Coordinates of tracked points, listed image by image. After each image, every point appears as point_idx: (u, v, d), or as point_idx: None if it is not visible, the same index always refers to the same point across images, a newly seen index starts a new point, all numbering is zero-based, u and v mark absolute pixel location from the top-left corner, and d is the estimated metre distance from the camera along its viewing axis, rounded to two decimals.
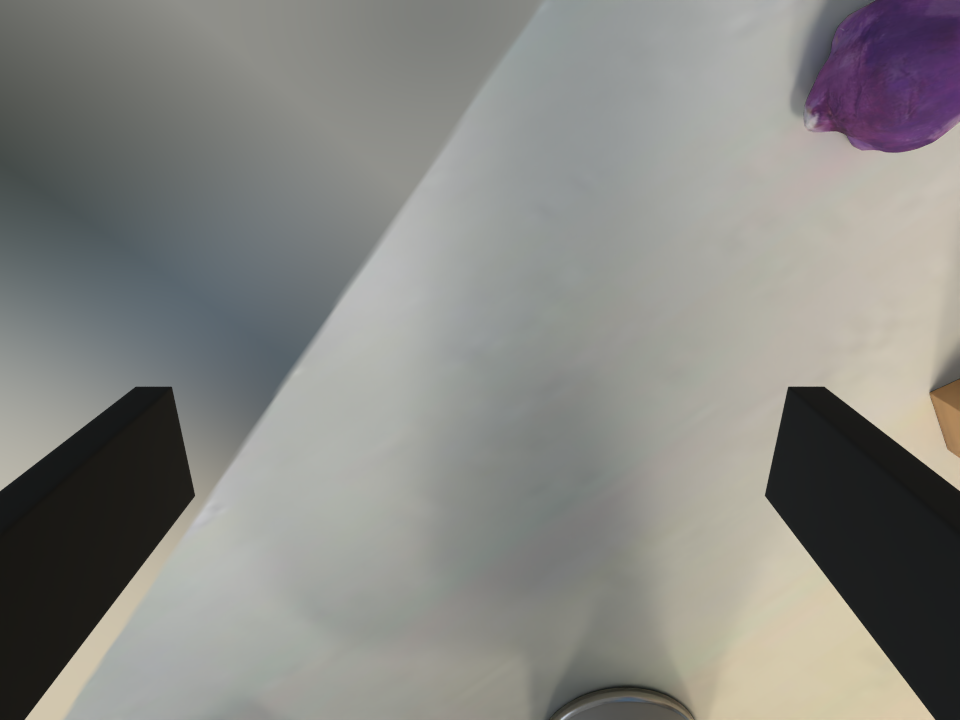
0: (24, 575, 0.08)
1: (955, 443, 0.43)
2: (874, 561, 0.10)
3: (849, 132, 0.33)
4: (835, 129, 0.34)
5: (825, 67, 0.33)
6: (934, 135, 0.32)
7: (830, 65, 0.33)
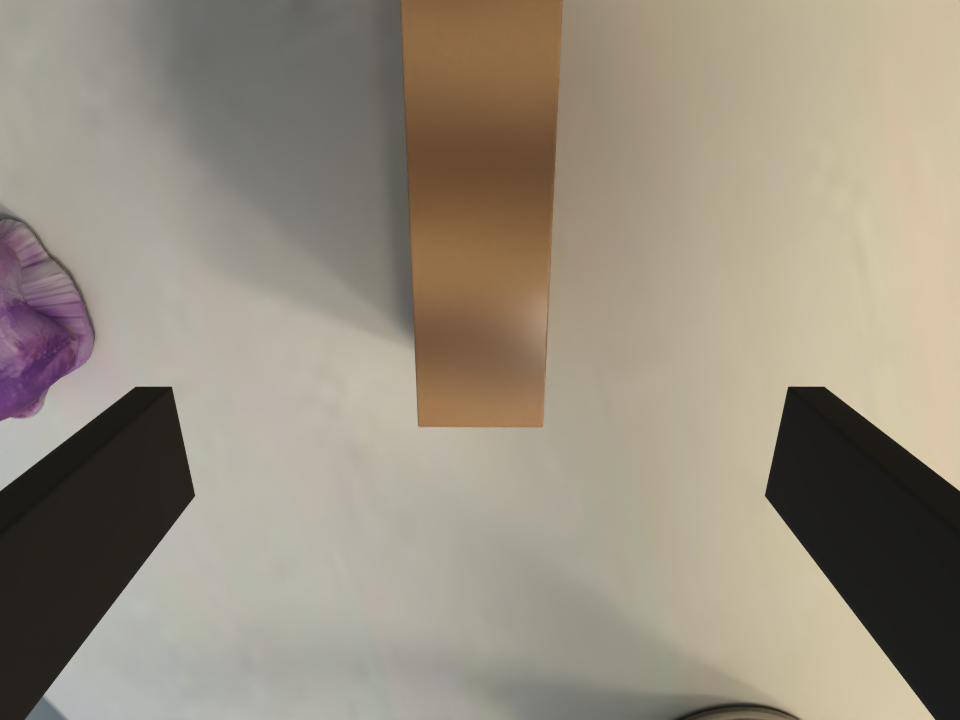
0: (24, 575, 0.08)
1: None
2: (874, 561, 0.10)
3: (19, 412, 0.31)
4: (31, 403, 0.32)
5: None
6: (15, 371, 0.28)
7: None
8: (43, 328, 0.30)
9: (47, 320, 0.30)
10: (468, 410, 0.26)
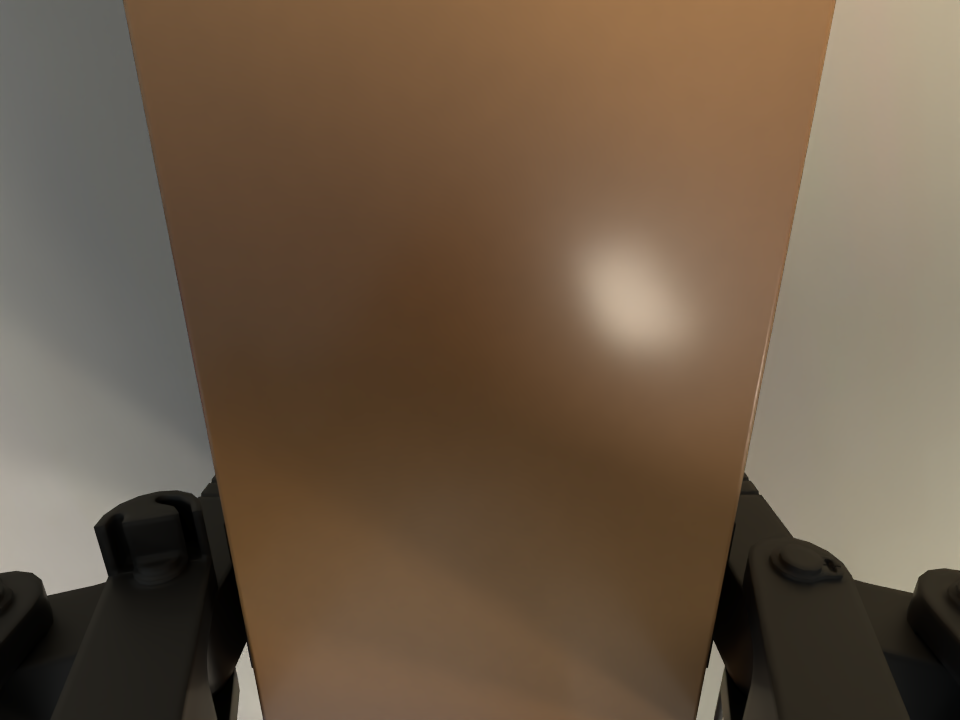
0: None
1: None
2: None
3: None
4: None
5: None
6: None
7: None
8: None
9: None
10: None
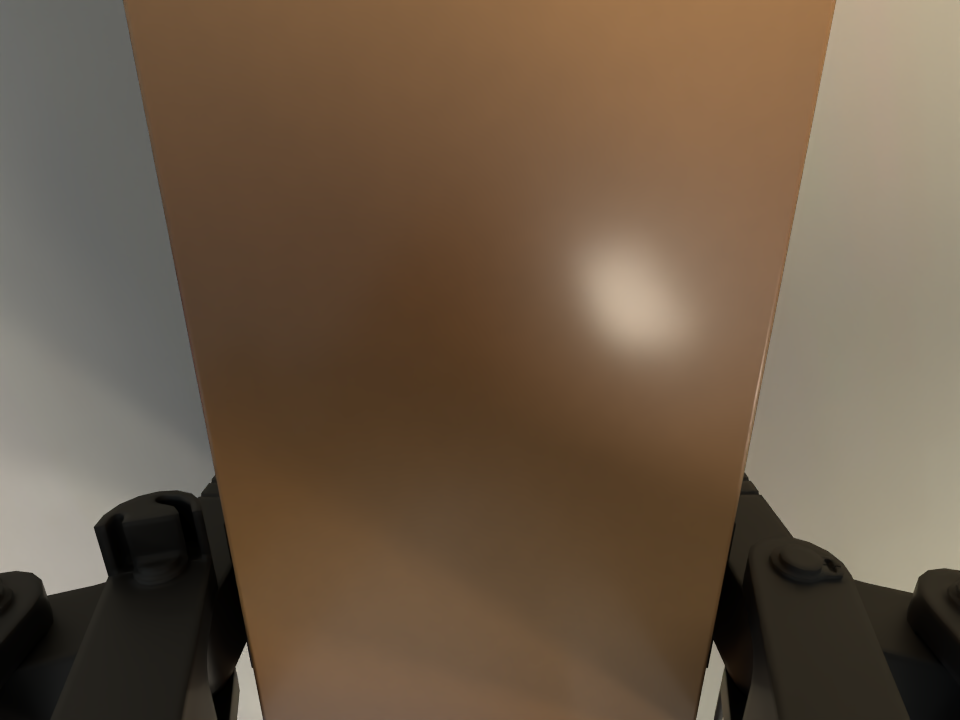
0: None
1: None
2: None
3: None
4: None
5: None
6: None
7: None
8: None
9: None
10: None
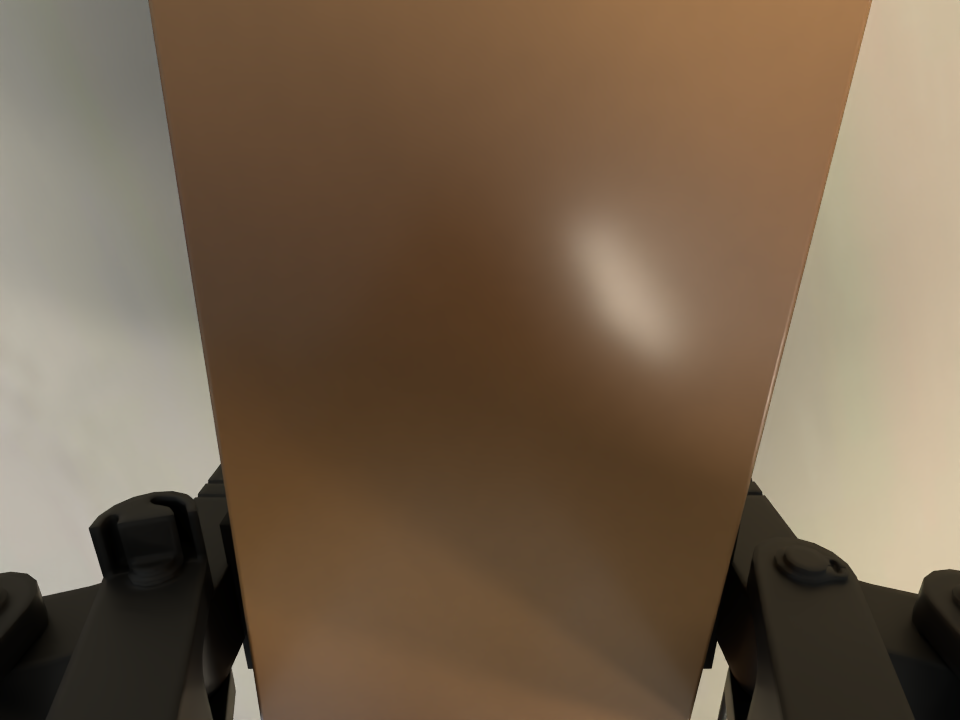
0: None
1: None
2: None
3: None
4: None
5: None
6: None
7: None
8: None
9: None
10: None
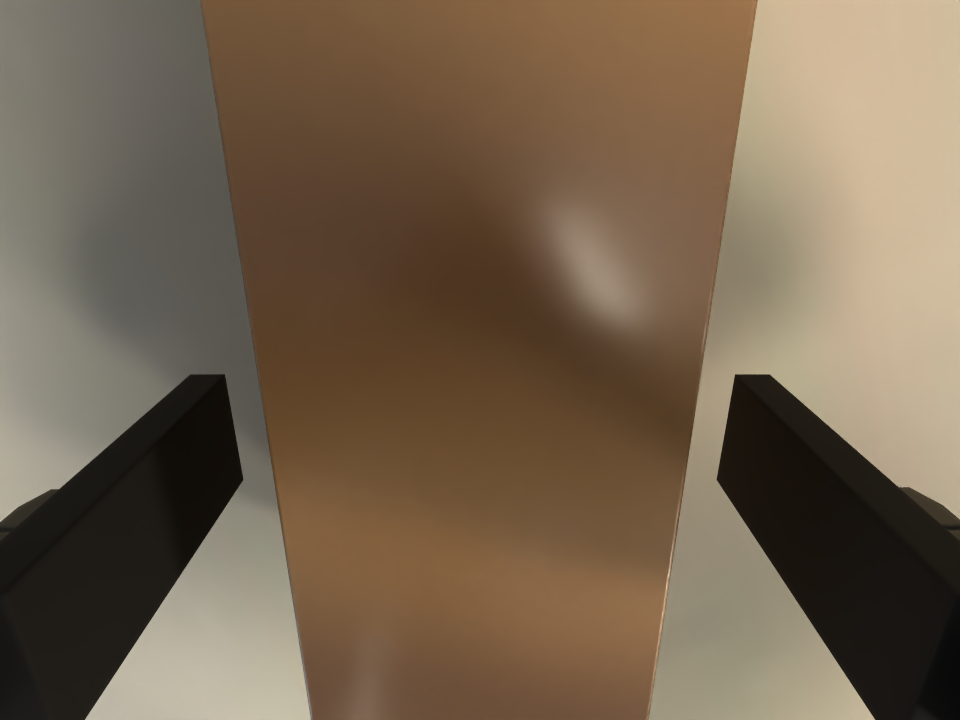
0: (111, 544, 0.09)
1: None
2: (802, 535, 0.10)
3: None
4: None
5: None
6: None
7: None
8: None
9: None
10: None
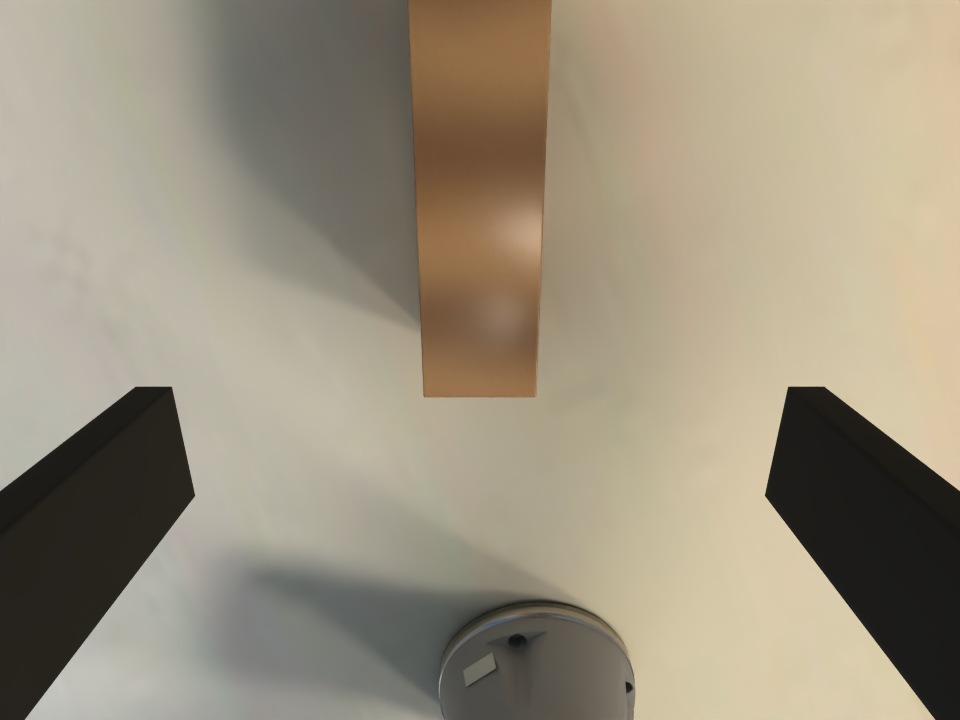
0: (25, 575, 0.08)
1: None
2: (874, 561, 0.10)
3: None
4: None
5: None
6: None
7: None
8: None
9: None
10: (469, 382, 0.29)
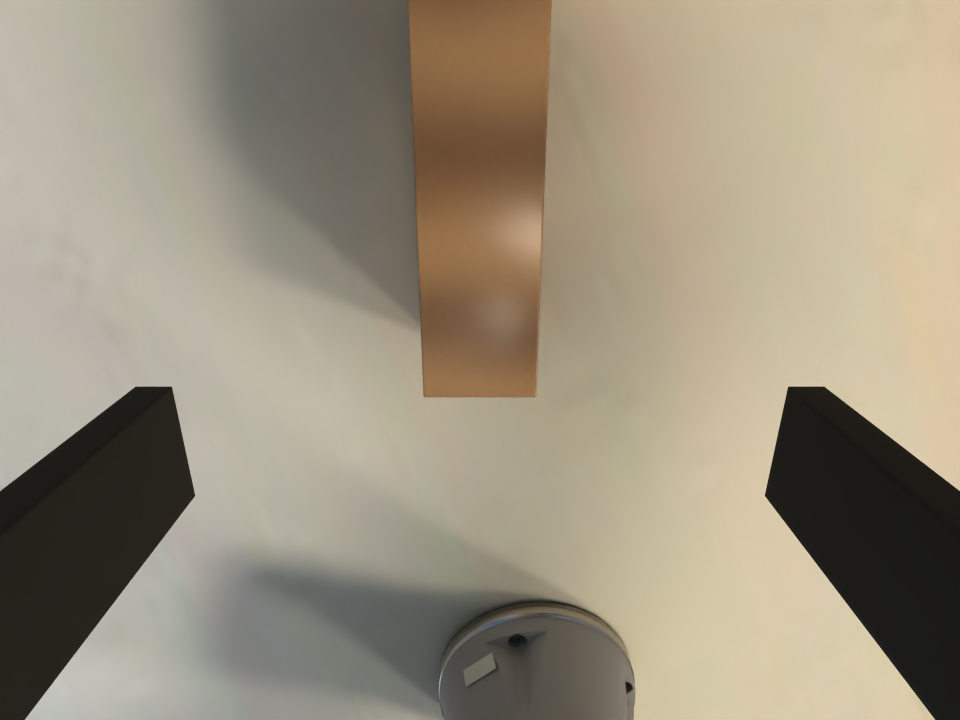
0: (25, 575, 0.08)
1: None
2: (874, 561, 0.10)
3: None
4: None
5: None
6: None
7: None
8: None
9: None
10: (469, 382, 0.29)
